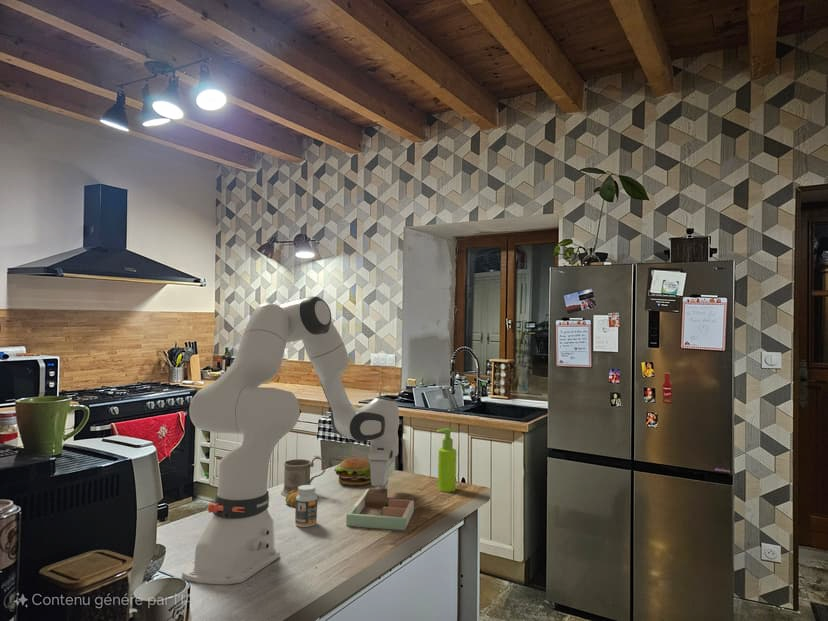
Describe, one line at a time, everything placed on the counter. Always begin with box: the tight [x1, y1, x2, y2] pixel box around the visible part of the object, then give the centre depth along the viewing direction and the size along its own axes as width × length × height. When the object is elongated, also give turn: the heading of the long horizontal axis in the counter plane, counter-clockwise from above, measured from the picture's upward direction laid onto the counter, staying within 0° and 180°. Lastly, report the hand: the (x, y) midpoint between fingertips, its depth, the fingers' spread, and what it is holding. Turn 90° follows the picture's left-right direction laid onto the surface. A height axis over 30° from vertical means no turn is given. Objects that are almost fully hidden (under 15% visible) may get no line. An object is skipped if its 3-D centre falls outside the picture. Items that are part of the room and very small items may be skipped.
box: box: [345, 488, 415, 531], centre depth 161 cm, size 24×16×3 cm, turn 171°
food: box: [334, 456, 371, 486], centre depth 194 cm, size 14×14×8 cm
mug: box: [280, 455, 327, 498], centre depth 179 cm, size 14×10×12 cm
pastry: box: [284, 490, 299, 508], centre depth 167 cm, size 9×7×4 cm
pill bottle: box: [294, 484, 318, 528], centre depth 151 cm, size 6×6×10 cm
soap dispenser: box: [436, 428, 457, 493], centre depth 186 cm, size 6×7×20 cm
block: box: [365, 487, 388, 508], centre depth 170 cm, size 6×6×4 cm
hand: (383, 493), depth 175 cm, fingers closed
